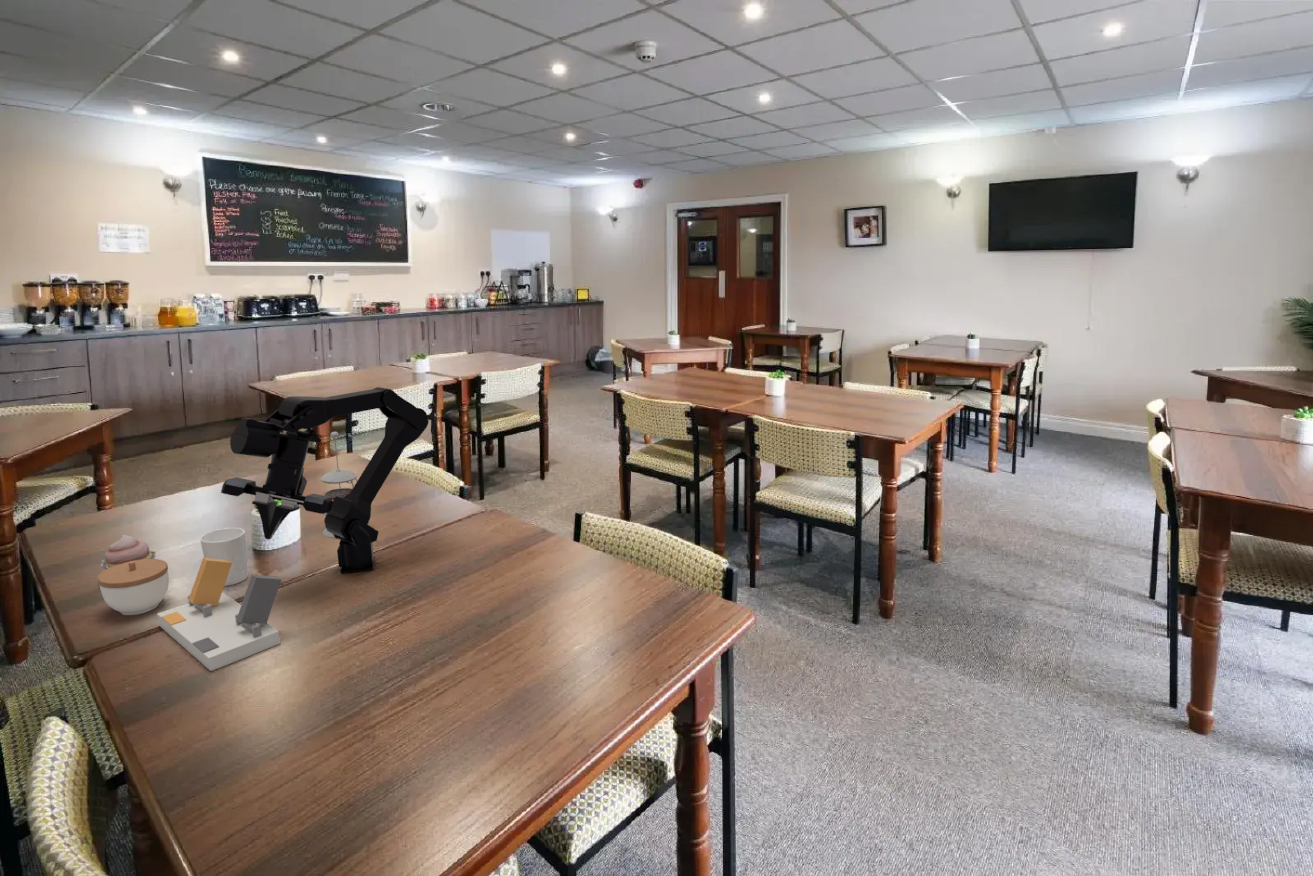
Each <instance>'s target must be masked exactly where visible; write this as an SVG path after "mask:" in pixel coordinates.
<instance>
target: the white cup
mask: <svg viewBox="0 0 1313 876" xmlns="http://www.w3.org/2000/svg"><path fill="white" fill-rule="evenodd" d="M199 540H200V546H201V551H202V554H203V558H211V559H221V560H229V561H230V562H232V565H231V568H230V571H229V573H228V576H227V579H226V582H225V585H224V587H227V586H233V585H237V584H239V583H241V582H243V581H245V580H246V579H247V578H248V576H249V575H248V573H249V572H248V558H247V557H248V555H247V554H248V553H247V552H248V551H247V541H246V530H244V529H243V528H240V527H224V528H219V529H214V530H211V531H208V532H206V533H204V534H202V535H201V536H200V538H199Z"/></svg>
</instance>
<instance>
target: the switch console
mask: <svg viewBox="0 0 1313 876" xmlns="http://www.w3.org/2000/svg"><path fill="white" fill-rule="evenodd" d="M189 597H190V595H188V596H187V599H188V600H189ZM188 600H187V601H188ZM207 605H208V606H205V607H202V609H203V611H202V610H201V609H199V608H198V607H197V606H195V605H194V604H192V603H191V602H190V601H188V603H185V604H182V605H179V606H176V607H173V608H170V609H166V610H164V611H161V612H158V613H156V615H157V621H158V625H159V627H161V628H162V629H163V631H165V632H166V633H167V634H168V635H169V636H170V637H171V638H172V639H174V640H175V641H176V642H177V643H178V644H180V645H181V646H182V647H183V648H184V649H185V650H186V651H187V652H189V653H190V655H192V656H193V657H194V658H195V659H196V660H198V661H199V662H200V663H201V664H202V665H203V666H204V667H205V668H206V669H208V670H209V671H211V672H212V671H215V670H217V669H220V668H222V667H225V666H228V665H230V664H233V663H235V662H237V661H240V660H243V659H245V658H248V657H250V656H252V655H255V654H258V653H260V652H262V651H265V650H268V649H270V648H272V647H275V646H278V645H280V644H281V639H280V634H279V630H277V629H276V628H274V627H273V626H271V625H270V624H269V623H267V624H259V623H256V626H254V627H252V631H251V630H250V629H249V628H247V627H246V626H244V625H243V624H242V623H240V622H239V621H238V620H237V617H238V614H239V611H240V608H241V605H242V604H240V603H239V602H237V600H235V599H233V598H232V597H230V596H229V595H228V594H226V593H225V592H223V591H222V594H221V597H220V600H219V603H218V605H213V604H207ZM211 609H212V610H211Z"/></svg>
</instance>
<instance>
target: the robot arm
mask: <svg viewBox="0 0 1313 876" xmlns="http://www.w3.org/2000/svg"><path fill="white" fill-rule="evenodd" d="M377 409H378V410H379V411H380V413H381V414H382V415H383V416H384V417H386V418H387V419H386V422H385V425H384V427H385V428H384V437H383V438H382V441H381V442H380V444H379V445H378V447H377V449H376V450H375V452H374V453H373V455H372V457H371V459H370V460H369V462H368V463H367V464H366V466H365V469H364V470H363V471H362V473H361V475H360V476H359V478H358V479H357V481H356V483H355V485H354V488H353V487H352V488H351V489H352V491H351V492H350V493H349V494H348V495H347V496H345V497H344V498H341V497H338V496H336V497H335V498H334V500H332V499H331V497H327V496H324V494H323V495H321V494H318V493H311V494H308V495H304V492H305V489H306V486H307V484H308V480H307V479H306V478H305V477H304V472H305V471H304V469H305V467H304V465H305V462H306V458H307V455H308V449H309V445H310V442H311V443H312V442H313V443H321V442H322V439H321V438H320V436H319V435H318V434H317V432H316V430H315V428H317V427H319V426H321V425H325V424H326V423H327V422H329V421H330V420H332V419H334V418H337V417H340V416H348V415H351V414H357V413H360V412H366V411H372V410H377ZM428 425H429V417H428V414H427V412H426V411H425V410H424V409H423V408H420V407H416V406H415V405H414V404H412V403H410V402H409V401H408V400H406V399H405V398H403V397H401V396H400V395H398V393H396V392H395V391H394V390H393V389H391V388H387V387H386V388H385V387H381V386H377V387H374V388H372V389H366V390H360V391H355V392H349V393H343V394H337V395H332V396H325V397H324V396H320V397H319V396H305V395H304V396H297V395H296V396H295V395H293V396H288V397H285V398H284V399H283V400H282V401H281V403H280V404H279V407H278V408H277V409H276V410H275V411H273V413H271V414H270V415H269V416H267V418H266V419H264V420H263V421H260V420H256V419H253V418H248V417H244V416H243V417H242V418H241V421H240V423H239V424H237V425H236V426H235V428H234V431H233V432H231V436H230V442H229V445H230V449H231V452H232V453H233V454H236V455H244V456H249V457H258V458H269V457H271V456H272V457H271V461H270V463H268V465H267V470H268V472H267V476H266V479H265V481H264V482H265V483H264V484H262V486H258V485H257V484H256V482H257V481H256V480H251V479H245V478H241V477H233V478H232V477H231V478H227V479H226V480H225V481H224V482H223V484H222V487H221V491H220V493H221V494H224V495H229V496H234V497H239V496H241V495H243V494H247V495H251V496H255V497H254V500H252V501H251V504H252V505H254V506H256V508H257V510H258V513H259V517H260V520H261V526H262V530H263V536H264V539H265V540H271V539H272V538H273V536H274V535H275V533H276V532H277V530H278V529H279V528H280V526H281V524H282V523H283V521H284V520H285V519H286V518H287V517H288V515H289V514H290V513H292V512H295V511H299V509H300V508H301V506H302V507H303V508H304V510H305V512H311V513H315V514H320V515H321V514H322V515H325V513H327V515H326V517H325V516H324V521H323V523H324V526H325V528H326V529H327V530H328V531H329V532H330V533H332V534H333V535H334V537H335V539H336V540H337V539H338V540H339V544H338V547H337V550H336V551H337V561H338V567H339V568H340V571H339V572H340V573H341V574H346V573H347V574H348V573H353V572H354V573H355V572H366V571H373V570H374V568H375V567H374V565H375V563H376V556H374V545H373V543H374V542H377V540H378V536H379V530H377V529H376V528H374V527H372V526H370V525H369V522H370V519H371V516H372V514H371V513H372V504H373V501H374V500H375V499H376V497H377V495H378V494H379V492H380V490H381V488H382V486H383V485H384V483H385V482H386V480H387V478H388V477H389V475H390V473H391V472H392V470H393V469H394V467H395V465H396V464H397V461H398V460H399V458H400V456H402V453H403V452H404V450H405V449H406V448H407V447H408V446H409V445H411V444H412V443H413V442H415V441H416V440H418V439H419V438H420V437H421V435H422V434H423V433H424V432H425V430H426V429H427V427H428ZM302 429H303V430H302ZM281 431H283V432H281ZM279 501H280V504H279V505H278V503H279Z"/></svg>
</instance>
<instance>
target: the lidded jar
mask: <svg viewBox="0 0 1313 876" xmlns="http://www.w3.org/2000/svg"><path fill="white" fill-rule="evenodd" d="M168 569H169V566H168V562H166V561H165V560H162V559H157V558H154V559H142V560H135V561H130V562H125V563H122V564H119V565H116V566H113V567H111V568H108V569H106V570H105V569H104V570H103V571H101V572H100V573H99V574H98V576H97V583H98V585H99V589H100V593H101V595H102V598H103V600H104V602H105V603H106V604H107V605H108V607H110V608H111V609H112V610H114V611H117V612H119V613H120V614H121V615H123V616H136V615H141V614H144V613H148V612H150V611H152V610H154V609H156V608H158V607H159V605H160V603H161V601H162V600H163V599H164V598H165V597H166V594H167V593H168V590H169V584H170V577H169V570H168Z"/></svg>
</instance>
